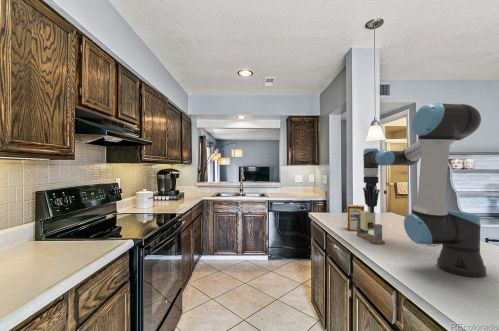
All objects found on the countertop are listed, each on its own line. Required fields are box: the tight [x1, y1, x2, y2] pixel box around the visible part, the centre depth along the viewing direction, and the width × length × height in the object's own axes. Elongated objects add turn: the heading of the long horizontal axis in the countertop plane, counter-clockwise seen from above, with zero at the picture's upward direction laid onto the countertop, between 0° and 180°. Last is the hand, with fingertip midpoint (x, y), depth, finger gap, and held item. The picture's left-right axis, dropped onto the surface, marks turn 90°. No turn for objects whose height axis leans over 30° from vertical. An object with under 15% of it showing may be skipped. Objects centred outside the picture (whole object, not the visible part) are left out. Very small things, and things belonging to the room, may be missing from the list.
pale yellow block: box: [360, 210, 376, 232], centre depth 147 cm, size 5×6×10 cm
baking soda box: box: [347, 204, 365, 233], centre depth 165 cm, size 10×6×16 cm
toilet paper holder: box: [356, 216, 386, 245], centre depth 145 cm, size 18×6×12 cm, turn 5°
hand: (370, 218), depth 144 cm, fingers closed
